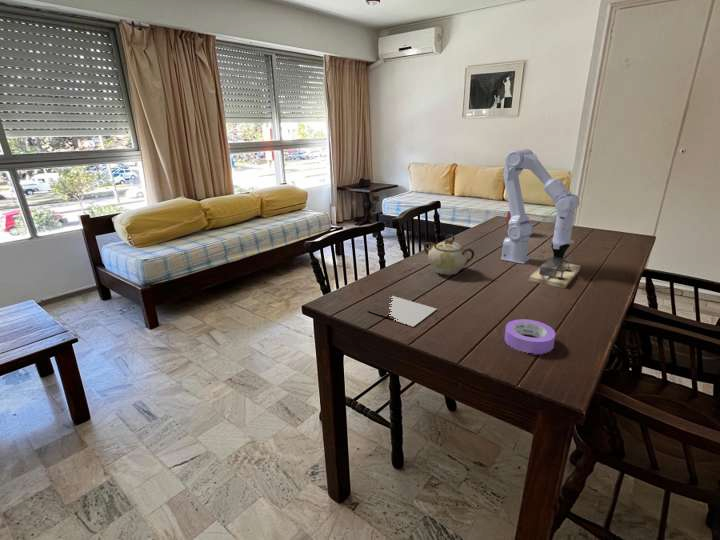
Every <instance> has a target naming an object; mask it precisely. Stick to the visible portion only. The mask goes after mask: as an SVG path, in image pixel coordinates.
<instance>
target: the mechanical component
mask: <svg viewBox="0 0 720 540" xmlns="http://www.w3.org/2000/svg"><path fill="white" fill-rule="evenodd" d="M506 213H507V214H506V216H505V218H504V221H505V222H506V223H507V225H506V231H507V234H508V228H509V225H508V223H509V221H510V219H511V214H510V210H509V211H507V212H506Z"/></svg>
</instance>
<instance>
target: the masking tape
mask: <svg viewBox="0 0 720 540" xmlns="http://www.w3.org/2000/svg"><path fill="white" fill-rule="evenodd" d="M526 335H528V336H526ZM532 336H533V337H532ZM555 340H556V331H555V330H554V328H552V327H551V326H550V325H547V324H546V323H543V322H541V321H537V320H534V319H525V318H523V319H521V318H520V319H515V320H511V321H508V322H507V323H506V325H505V332H504V342H505V343H506V344H507V346H509V345H510V346H511V348H512V347H513V348H514V350H515V349H516V351H518V350H519V351H518V352H520V351H522V352H521V353H524V352H526V353H525V354H528V353H533V354H532V355H543V354H542V353H546V354H548V353H547V352H549V351H550V352H552V351H553V350H554V347H555ZM510 346H509V347H510ZM513 348H512V349H513ZM552 349H553V350H552ZM551 350H552V351H551ZM550 352H549V353H550Z"/></svg>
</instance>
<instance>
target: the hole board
mask: <svg viewBox="0 0 720 540" xmlns="http://www.w3.org/2000/svg"><path fill="white" fill-rule="evenodd" d="M547 264H548V259H547V260H545V262H543V264H541V265H540V266H539V267H538V268H537V269H536V270H535V271H534V272H532V274H530V276H529V278H528V281H529V282H532V283H533V282H534V283H538V284H543V285H547V286H552V287H557V288H561V289H566V288H567V287H568V286H569V284H570V283H571V281H573V279H574V278H575V277H576V275H577V274H578V273H579V272H580V270H581V267H582V266H581V265H578V264H573V263H570V269H568V264H569V263H567V262H564V266H563V267H562V268H559V267H556V266H550V265H547Z"/></svg>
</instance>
